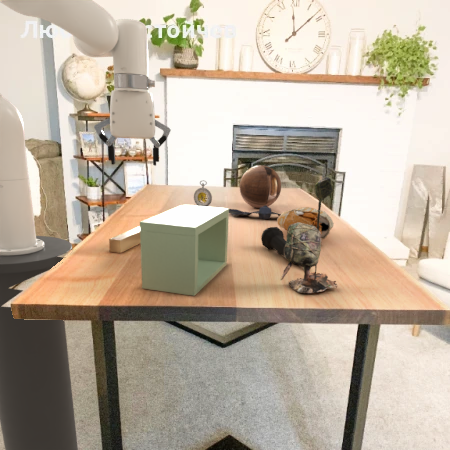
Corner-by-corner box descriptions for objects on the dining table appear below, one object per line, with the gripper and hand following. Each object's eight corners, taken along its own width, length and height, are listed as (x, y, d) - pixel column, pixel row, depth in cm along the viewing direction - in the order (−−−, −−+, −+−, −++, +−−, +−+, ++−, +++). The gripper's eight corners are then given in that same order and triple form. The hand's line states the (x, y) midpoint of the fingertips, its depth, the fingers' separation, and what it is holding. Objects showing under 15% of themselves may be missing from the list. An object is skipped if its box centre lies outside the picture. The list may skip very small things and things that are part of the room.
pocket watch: (189, 213, 147) (190, 182, 144) (186, 208, 155) (187, 179, 151) (214, 213, 149) (214, 182, 145) (209, 208, 157) (210, 179, 153)
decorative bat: (218, 204, 139) (221, 202, 149) (217, 217, 141) (220, 214, 150) (313, 209, 137) (310, 207, 147) (311, 223, 139) (308, 219, 148)
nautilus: (340, 253, 109) (279, 252, 110) (327, 228, 128) (275, 228, 129) (344, 221, 106) (281, 221, 107) (329, 201, 125) (276, 201, 126)
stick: (109, 251, 100) (108, 238, 99) (141, 236, 115) (141, 225, 114) (120, 253, 100) (120, 240, 99) (151, 237, 114) (151, 226, 113)
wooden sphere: (234, 204, 168) (235, 163, 162) (271, 204, 172) (274, 163, 166) (245, 211, 154) (247, 166, 149) (285, 211, 158) (289, 167, 153)
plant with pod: (272, 280, 86) (281, 174, 78) (328, 280, 87) (342, 175, 80) (282, 295, 78) (293, 179, 71) (343, 295, 80) (360, 181, 72)
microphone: (310, 282, 95) (272, 247, 112) (322, 258, 93) (281, 226, 109) (290, 276, 93) (253, 242, 109) (301, 252, 91) (263, 220, 107)
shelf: (141, 288, 79) (139, 221, 75) (182, 259, 97) (183, 204, 93) (194, 296, 76) (195, 227, 72) (226, 264, 94) (228, 208, 90)
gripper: (169, 88, 104) (170, 164, 110) (93, 84, 101) (98, 162, 107) (171, 85, 97) (171, 167, 103) (89, 81, 94) (94, 164, 100)
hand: (134, 164), depth 105 cm, fingers open, 9 cm apart
